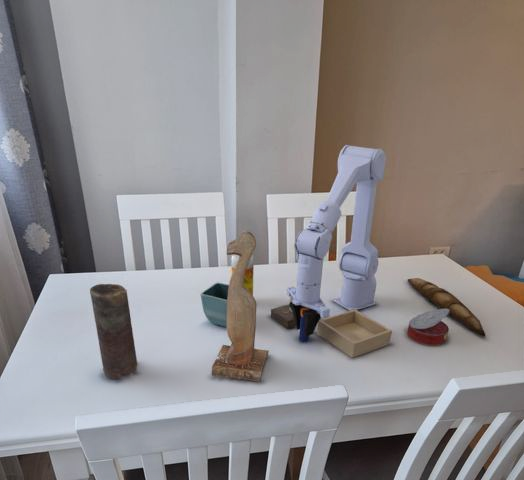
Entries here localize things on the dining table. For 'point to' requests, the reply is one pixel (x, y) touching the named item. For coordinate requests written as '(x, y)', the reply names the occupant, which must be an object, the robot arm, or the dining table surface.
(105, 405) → the dining table surface
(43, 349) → the dining table surface
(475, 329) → the bread
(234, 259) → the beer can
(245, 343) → the bird sculpture
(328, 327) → the open wooden box
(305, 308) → the marker
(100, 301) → the candle
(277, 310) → the block
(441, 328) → the canned food
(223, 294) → the flower pot
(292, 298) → the grey dial knob
